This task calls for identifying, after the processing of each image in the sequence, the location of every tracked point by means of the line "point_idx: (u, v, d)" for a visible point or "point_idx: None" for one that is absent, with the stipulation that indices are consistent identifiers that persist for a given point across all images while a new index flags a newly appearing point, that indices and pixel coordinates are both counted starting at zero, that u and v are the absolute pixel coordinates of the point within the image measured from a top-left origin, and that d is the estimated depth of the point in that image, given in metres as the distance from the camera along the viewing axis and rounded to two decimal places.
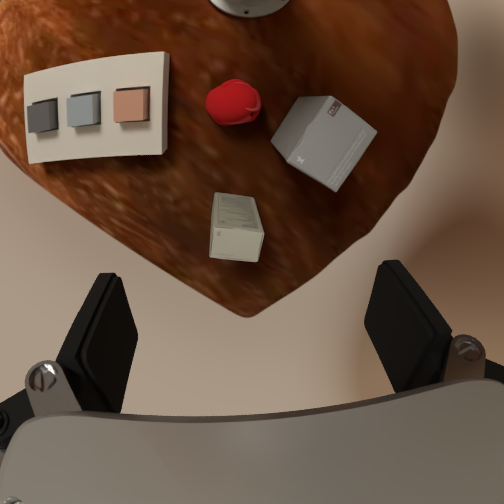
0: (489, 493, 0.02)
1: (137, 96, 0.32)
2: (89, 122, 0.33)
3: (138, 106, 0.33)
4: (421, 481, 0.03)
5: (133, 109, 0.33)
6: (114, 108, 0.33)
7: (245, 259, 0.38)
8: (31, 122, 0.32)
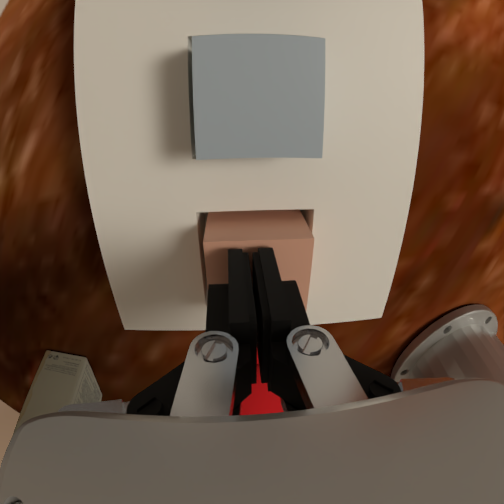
0: (489, 493, 0.02)
1: None
2: (203, 144, 0.09)
3: None
4: (421, 481, 0.03)
5: None
6: (253, 244, 0.11)
7: None
8: None
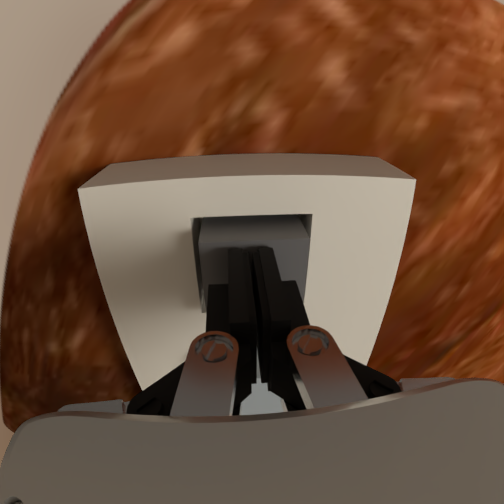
0: (489, 493, 0.02)
1: None
2: None
3: None
4: (421, 481, 0.03)
5: None
6: None
7: None
8: None
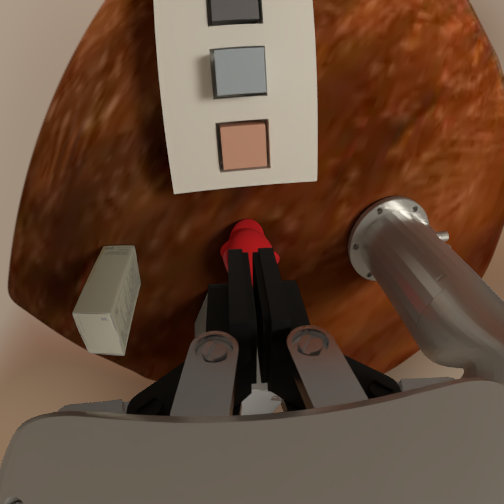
0: (489, 493, 0.02)
1: (257, 159, 0.28)
2: (220, 89, 0.23)
3: (243, 161, 0.28)
4: (421, 481, 0.03)
5: (238, 155, 0.27)
6: (240, 127, 0.26)
7: (85, 343, 0.27)
8: None
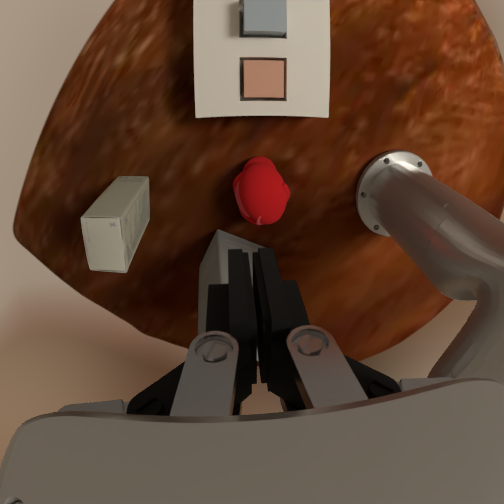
0: (489, 493, 0.02)
1: (275, 90, 0.28)
2: (247, 26, 0.23)
3: (262, 91, 0.28)
4: (421, 481, 0.03)
5: (258, 86, 0.28)
6: (261, 61, 0.27)
7: (88, 256, 0.28)
8: None
